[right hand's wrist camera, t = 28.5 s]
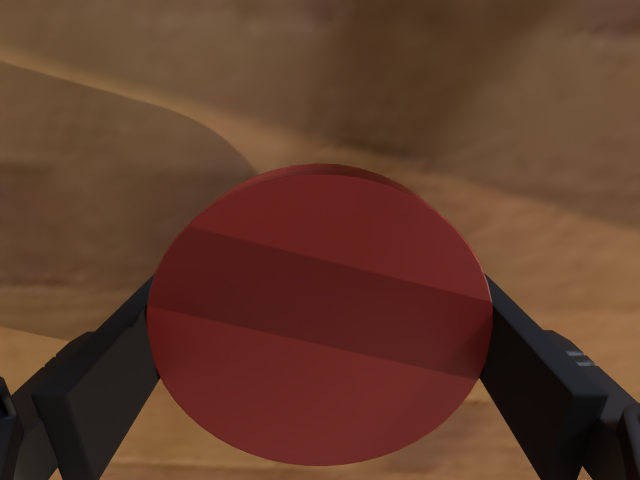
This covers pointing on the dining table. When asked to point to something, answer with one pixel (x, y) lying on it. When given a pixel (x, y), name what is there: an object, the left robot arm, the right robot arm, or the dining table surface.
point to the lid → (319, 316)
